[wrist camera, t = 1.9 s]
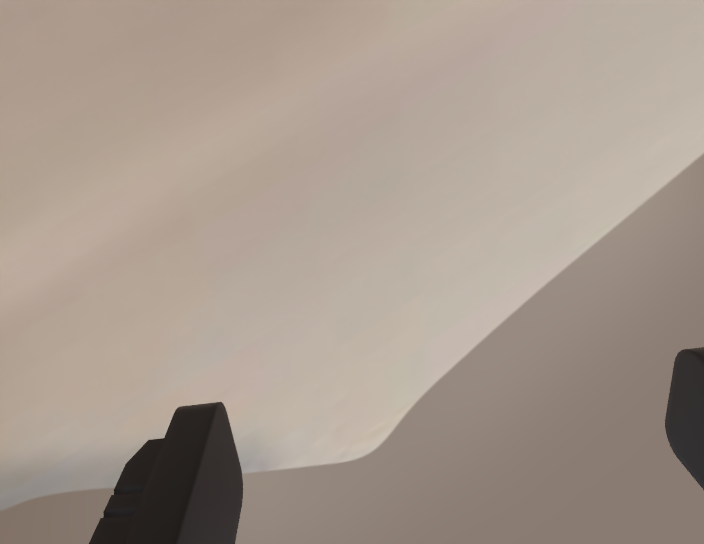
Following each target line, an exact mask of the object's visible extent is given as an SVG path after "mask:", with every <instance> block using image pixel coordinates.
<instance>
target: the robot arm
mask: <svg viewBox="0 0 704 544" xmlns="http://www.w3.org/2000/svg"><path fill="white" fill-rule="evenodd" d="M665 428H666V433H667V438H668V441H669V443H670V446H671V448H672V450H673V452H674V453H675V455H676V456H677V458H678V459H679V460H680V461H681V462H682V464H683V465H684V466H685V467H686V469H687V470H688V471H689V472H690V473H691V475H692V476H693V477H694V478H695V479H696V481H697V482H698V483H699V485H700V486H701V487H702V488H703V490H704V347H702V348H694V349H685V350H682V351H680V352H679V353H678V355H677V356H676V358H675V362H674V368H673V375H672V381H671V387H670V393H669V400H668V406H667V413H666V420H665ZM242 498H243V481H242V472H241V466H240V462H239V458H238V455H237V451H236V447H235V443H234V439H233V435H232V431H231V427H230V423H229V419H228V415H227V412H226V409H225V406H224V405H223V403H222V402H217V403H208V404H199V405H191V406H182V407H178V408H177V409H176V411H175V413H174V415H173V418H172V420H171V423H170V425H169V428H168V430H167V433H166V435H165V438H163V439H154V440H148V441H147V442H146V443H145V444H144V445H143V447H142V448H141V449H140V450H139V451H138V452H137V453H136V454H135V455H134V456H133V457H132V458H131V459H130V460H129V461H128V462H127V463H126V465H125V467H124V469H123V472H122V474H121V476H120V478H119V480H118V482H117V485H116V487H115V489H114V495H112V496H111V497H110V500H109V502H108V504H107V506H106V508H105V510H104V517H103V518H101V519H100V521H99V523H98V526H97V528H96V530H95V532H94V534H93V536H92V538H91V541H90V543H89V544H235V540H236V534H237V529H238V523H239V518H240V512H241V507H242Z"/></svg>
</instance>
